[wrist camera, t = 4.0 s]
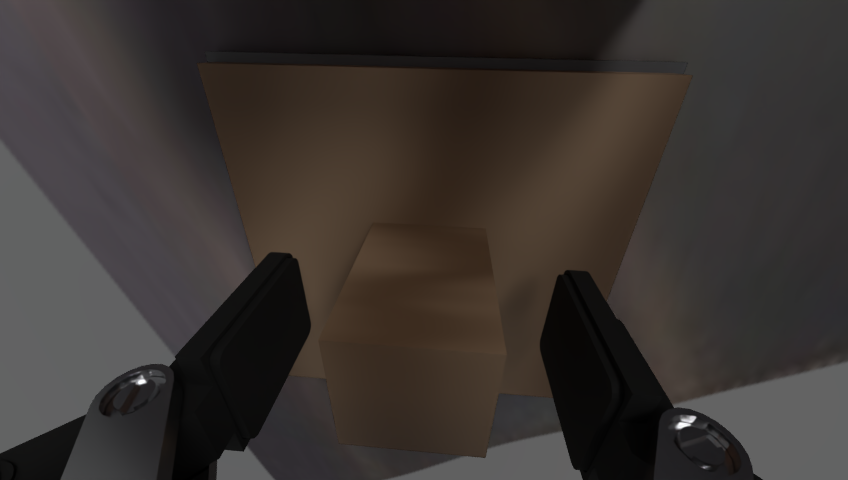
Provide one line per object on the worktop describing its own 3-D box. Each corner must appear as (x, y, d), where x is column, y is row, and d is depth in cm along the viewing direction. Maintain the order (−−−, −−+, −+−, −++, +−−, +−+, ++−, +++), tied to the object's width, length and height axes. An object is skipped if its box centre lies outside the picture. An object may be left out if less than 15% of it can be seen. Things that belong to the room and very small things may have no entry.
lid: (673, 73, 9) (972, 107, 4) (563, 383, 15) (618, 551, 10) (215, 62, 9) (-55, 78, 4) (294, 361, 16) (219, 507, 11)
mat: (676, 61, 9) (687, 62, 9) (565, 377, 16) (568, 387, 15) (215, 51, 10) (204, 51, 9) (294, 355, 16) (290, 364, 16)
